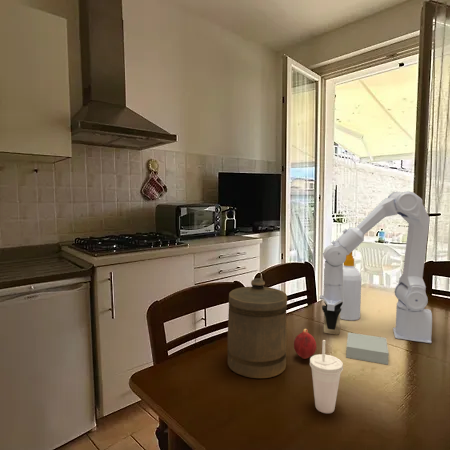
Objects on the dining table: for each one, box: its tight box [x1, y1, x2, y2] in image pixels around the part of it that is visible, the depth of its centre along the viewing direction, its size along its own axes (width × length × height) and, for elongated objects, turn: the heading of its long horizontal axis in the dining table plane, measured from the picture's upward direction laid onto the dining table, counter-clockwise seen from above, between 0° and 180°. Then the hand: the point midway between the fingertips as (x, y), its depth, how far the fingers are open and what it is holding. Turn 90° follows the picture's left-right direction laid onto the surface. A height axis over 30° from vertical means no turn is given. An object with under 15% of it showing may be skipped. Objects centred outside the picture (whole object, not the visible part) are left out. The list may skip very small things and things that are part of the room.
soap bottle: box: [340, 251, 362, 321], centre depth 119 cm, size 9×9×24 cm
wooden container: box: [227, 277, 288, 379], centre depth 85 cm, size 15×15×22 cm
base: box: [345, 332, 389, 365], centre depth 91 cm, size 10×10×3 cm
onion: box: [293, 328, 318, 360], centre depth 88 cm, size 6×6×8 cm
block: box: [323, 313, 341, 336], centre depth 106 cm, size 4×4×6 cm
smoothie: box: [309, 339, 344, 414], centre depth 67 cm, size 6×6×14 cm
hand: (331, 325), depth 106 cm, fingers closed on block, 4 cm apart
